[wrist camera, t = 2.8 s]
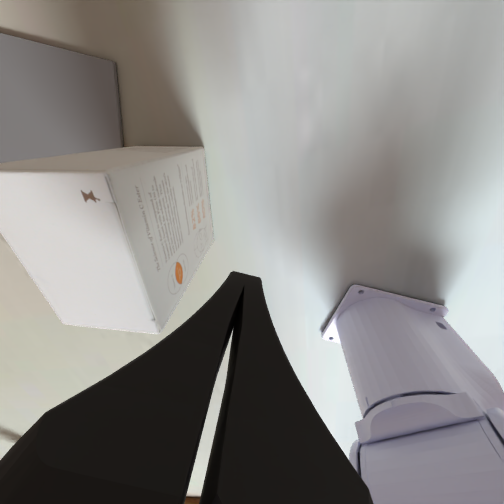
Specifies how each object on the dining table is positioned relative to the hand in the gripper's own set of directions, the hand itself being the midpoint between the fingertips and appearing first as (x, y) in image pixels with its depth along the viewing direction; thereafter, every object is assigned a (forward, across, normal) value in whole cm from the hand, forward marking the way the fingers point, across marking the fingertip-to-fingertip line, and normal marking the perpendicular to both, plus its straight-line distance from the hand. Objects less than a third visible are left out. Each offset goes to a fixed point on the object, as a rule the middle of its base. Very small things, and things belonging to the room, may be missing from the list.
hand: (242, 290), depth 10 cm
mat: (+9, +18, 0) cm, 20 cm away
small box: (+10, +7, 0) cm, 12 cm away
